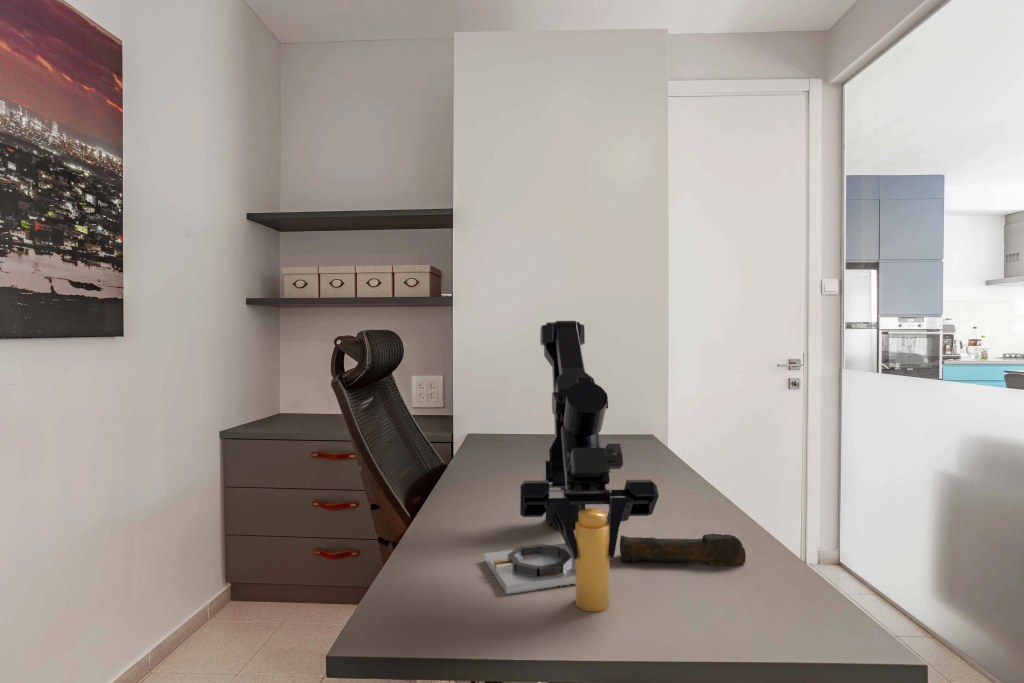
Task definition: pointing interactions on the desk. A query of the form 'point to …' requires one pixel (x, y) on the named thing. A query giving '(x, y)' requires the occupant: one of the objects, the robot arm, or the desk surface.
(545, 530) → the desk surface
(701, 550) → the hand tool
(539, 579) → the plate
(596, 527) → the domed yellow peg
